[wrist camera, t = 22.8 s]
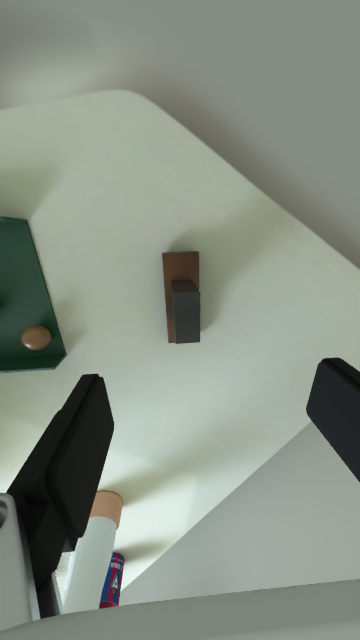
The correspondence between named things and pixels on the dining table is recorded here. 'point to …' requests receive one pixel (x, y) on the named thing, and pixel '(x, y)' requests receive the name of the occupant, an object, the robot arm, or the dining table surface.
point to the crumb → (35, 337)
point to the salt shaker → (92, 555)
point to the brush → (182, 296)
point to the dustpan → (24, 302)
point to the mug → (112, 582)
